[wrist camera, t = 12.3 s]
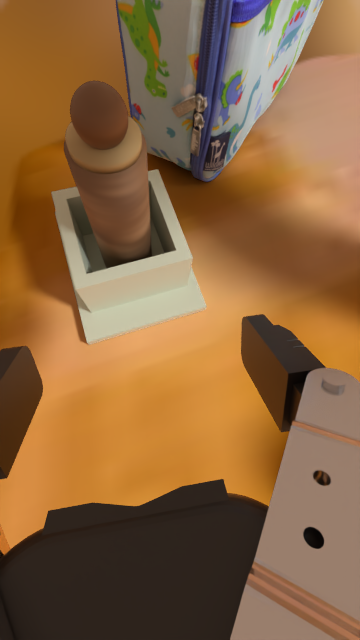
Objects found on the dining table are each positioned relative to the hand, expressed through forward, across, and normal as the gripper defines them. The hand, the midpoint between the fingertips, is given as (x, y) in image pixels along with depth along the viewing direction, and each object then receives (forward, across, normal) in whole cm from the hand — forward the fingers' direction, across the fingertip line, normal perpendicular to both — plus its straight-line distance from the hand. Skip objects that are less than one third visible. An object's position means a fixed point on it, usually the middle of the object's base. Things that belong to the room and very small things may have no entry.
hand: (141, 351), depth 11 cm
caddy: (+19, +1, +2) cm, 19 cm away
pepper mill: (+18, +1, +1) cm, 18 cm away
